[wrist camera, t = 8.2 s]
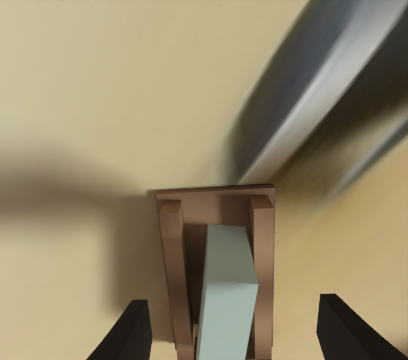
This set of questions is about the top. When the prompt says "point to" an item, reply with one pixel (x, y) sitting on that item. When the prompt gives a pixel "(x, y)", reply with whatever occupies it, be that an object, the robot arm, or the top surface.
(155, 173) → the top surface
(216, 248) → the pale teal block
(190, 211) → the floor track
